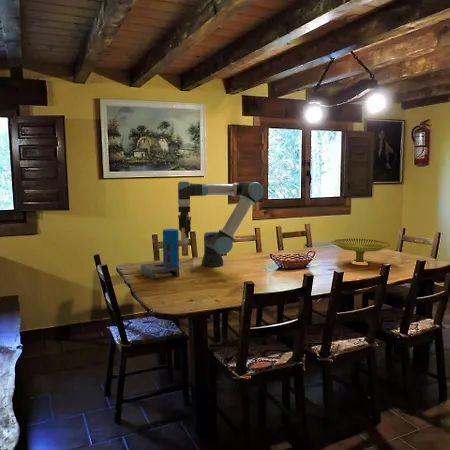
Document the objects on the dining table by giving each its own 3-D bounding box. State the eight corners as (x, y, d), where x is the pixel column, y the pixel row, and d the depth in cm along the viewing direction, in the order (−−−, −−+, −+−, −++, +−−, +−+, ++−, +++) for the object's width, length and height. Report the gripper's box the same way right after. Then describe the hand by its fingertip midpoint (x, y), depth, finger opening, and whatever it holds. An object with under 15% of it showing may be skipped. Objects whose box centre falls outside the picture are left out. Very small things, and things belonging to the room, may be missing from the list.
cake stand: (318, 263, 315) (319, 242, 314) (350, 255, 342) (350, 236, 340) (370, 273, 286) (371, 250, 284) (400, 264, 313) (401, 243, 311)
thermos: (176, 267, 299) (175, 231, 296) (161, 267, 301) (160, 230, 298) (180, 264, 310) (180, 228, 307) (166, 263, 312) (165, 228, 309)
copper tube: (186, 254, 288) (185, 227, 286) (189, 255, 285) (188, 227, 282) (180, 255, 286) (180, 227, 284) (183, 256, 283) (183, 228, 280)
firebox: (166, 270, 291) (166, 261, 290) (179, 276, 276) (179, 266, 275) (140, 274, 281) (140, 264, 280) (152, 280, 266) (152, 270, 265)
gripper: (172, 205, 286) (173, 241, 289) (185, 207, 272) (185, 244, 275) (183, 204, 290) (183, 239, 293) (195, 206, 276) (196, 243, 279)
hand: (184, 242), depth 284 cm, fingers closed on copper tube, 4 cm apart
